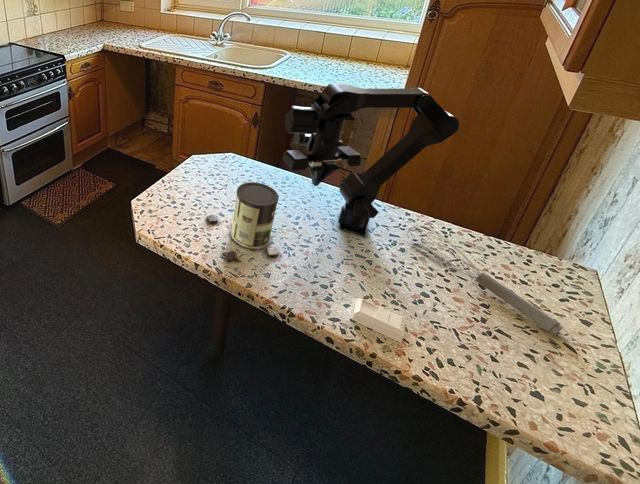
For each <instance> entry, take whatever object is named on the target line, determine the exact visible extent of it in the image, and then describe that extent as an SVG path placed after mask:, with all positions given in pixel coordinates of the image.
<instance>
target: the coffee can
mask: <svg viewBox="0 0 640 484" xmlns="http://www.w3.org/2000/svg"><path fill="white" fill-rule="evenodd" d="M279 198H280V195H279V194H278V192H277V191H276V190H275V189H274V188H273V187H271V186H269V185H268V184H265V183H261V182H255V181H251V182H250V181H249V182H244V183H241V184H240V185H238V186H237V188H236V196H235V203H234V212H233V216H232V217H233V218H232V225H231V229H230V235H231V238H232V239H233V241H234V242H235V243H237V244H238V245H239V246H241V247H244V248H245V249H251V250H260V249H264V248H266V247H267V246H268V245H269V243H270V242H271V241H270V240H271V235H272V234H271V233H272V230H273V224H274V220H275V216H276V215H275V214H276V211H277V207H278V206H277V205H278V203H279Z"/></svg>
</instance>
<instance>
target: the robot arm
mask: <svg viewBox="0 0 640 484" xmlns="http://www.w3.org/2000/svg"><path fill="white" fill-rule="evenodd" d="M323 105H326V106H327V108H325V106H323ZM309 106H310V107H308V106H306V107H305V106H297V105H292V106H291V107H290V110H288V112H287V114H286V115H285V119H284V128H285V131H286V133H287V134H294V136H293V142H294V144H296V145H299V146H300V147H305V150H306V151H307V152H310V153H306V154H304V153H303V152H302V151H301V150H300V149H291V150H286V151H284V152H283V154H282V155H283V156H282V160H283V162H284V163H285V164H286V165H287V166H288V167H289V169H291V170H292V171H305V170H307V169H309V173H310V178H311V183H312V186H314V187H319V185H320V184H321V183H322V182H323V181H324V180H325V179H327V177H329V176H330V175H332V174H333V173H334V172H335V171H339V170H340V166H339V165H337V163H338V162H339V161H345V160H347V161H346V164H347V165H348V166H349V167H359V166H360V165H361V162H362V161H363V159H362V158H363V157H362V156H361V154H360V153H358V152H357V151H356V150H355V149H353V148H352V147H351V146H343V143H344V141H343V140H341V137H342V133H343V129H344V126H345V122H346V121H353V122H354V121H355V120H356V117H355V116H354V115H353V114H352V113H355V112H357V111H360V110H361V109H412V110H413V111H414V113H416V114H417V115H416V116H415V117H414V118H413V120H412V121H411V125H410V126H409V129H408V132H407V133H406V134H405V135H404V136H403V137H402V138H401V139H399V140H398V141H397V142H396V143H395V144H394V145H393V146H392V147H391V148H390V149H388V150H387V152H386V153H384V154H383V155H382V156H381V157H379V159H378V160H377V161H375V162H374V163H373V164H372V165H371V166H369V168H367V169H366V170H365V171H363V172H361V173H357V174H356V173H355V172H354V171H352V172H350V173H349V174H348V175H347V176H346V177H345V178H343V179H341V180H340V182H341V183H340V184H339V186H338V187H339V193H340V195H341V196H342V199H344V201H345V203H344V205H342V206H341V209H340V211H339V215H338V219H337V220H338V223H339V229H340V230H344V231H347V232H352V233H354V234H359V235H362V236H366V235H367V228H368V225H369V222H370V219H375V218H376V217H377V215H378V214H379V211H378V209H377V208H376V207H375V205H374V204H373V203H374V201H375V200H376V199H377V197H378V194H379V191H380V189H381V187H382V186H383V184H385V183H386V182H387V181H388V180H389V179H391V178H392V177H394V175H395V174H397V173H398V172H399V171H400V170H401V169H402V168H403V167H404V166H406V165H407V164H408V163H409V162H410V161H411V160H413V159H414V158H415V157H416V156H417V155H419V153H421V152H422V151H423V150H424V149H425V148H427V147H430V146H433V145H437V144H441V143H442V142H444V141H446V140H448V139H449V138H450V137H452V136H454V135H455V134H456V133H457V132H458V131H459V129H460V121H459V119H458V118H457V117H456V116H455V115H453V114H452V113H450V112H448V111H447V110H445V109H444V108H443V107H442V106H441V105H440V104H439V103H438V102H437V101H436V100H435V98H434V97H433V95H432V94H430V93H429V92H427V91H425V90H424V89H423V88H421V87H412V88H363V87H358V86H356V85H355V86H354V85H350V84H347V83H341V82H331V83H328V84H327V85H326V86H325V87H324V88H323V89H322V91H321V93H319V94H318V95H317V96H316V97H315V98H313V100H312V101H310V103H309Z"/></svg>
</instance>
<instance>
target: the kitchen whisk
mask: <svg viewBox="0 0 640 484" xmlns="http://www.w3.org/2000/svg"><path fill="white" fill-rule="evenodd" d="M414 228H416V229H419V230H421V231H423V232H424V233H426V234H428V235H429V236H430V237H432V238H434V239H435V240H437V241H438V242H439V243H441V244H442V245H443V246H445V247H446V248H447V249H449V250H450V251H451V252H452V253H454V254H452V253H451V252H449V251H448V250H446V249H445V248H444V247H442V246H441V245H439V244H438V243H437V242H435V241H433V240H432V239H431V238H429V237H428V236H426V235H425V234H423V233H421V232H419V231H417V230H416V229H414ZM425 230H427V231H430V232H431V233H434V234H435V235H436V236H438V237H439V238H441V239H442V240H444V241H445V242H446V243H448V245H450V246H451V247H452V248H453V249H455V251H457V252H458V253H459V254H460V255H462V257H463V258H465V260H464V259H463V258H461V257H460V256H459V254H457V253H456V252H454V251H453V250H452V249H450V248H449V247H448V246H447V245H446V244H444V243H443V242H442V241H440V239H438V238H436V237H435V236H434V235H432V234H431V233H430V232H427V231H425ZM412 231H414V232H416V233H418V234H420V235H422V236H423V237H425V238H426V239H428V240H430V241H431V242H433V243H434V244H435V245H437V246H439V247H440V248H441V249H443V250H444V251H446V252H447V253H448V254H450V255H451V256H452V257H454V258H455V259H457V260H458V261H459V262H461V263H462V264H463V265H465V266H466V267H464V266H462V265H461V264H460V263H457V262H456V261H454V260H452V259H451V258H449V257H448V256H446V255H444V254H443V253H441V252H440V251H438V250H437V249H435V248H434V247H432V246H431V245H430V244H428V243H426V242H425V241H424V240H422V239H420V237H418V236H416V235H415V234H414V233H412ZM409 233H410V235H411V236H412V238H413V239H414V240H415V241H416V242H417V243H418V244H420V245H421V246H422V247H424V248H425V249H426V250H428V251H429V252H431V253H432V254H434V255H435V256H437V257H438V258H440V259H443V260H444V261H445V262H443V260H440V259H438V258H436V257H434V256H432V255H430V254H429V253H427V252H426V251H424V250H422V249H421V248H420V247H418V246H417V245H415V244H414V243H413V242H412V241H411V239H410V237H409V235H407V236H406V238H407V239H408V241H409V242H410V244H411V245H412V246H413V247H414V248H416V249H417V250H418V251H419V252H421V253H422V254H423V255H425V256H427V257H428V258H430V259H432V260H433V261H436V262H438V263H439V264H441V265H443V266H445V267H447V268H449V269H452V270H454V271H456V272H459V273H461V274H464V275H466V276H468V277H471V278H473V279H475V282H476V283H478V284H479V285H481V286H482V287H483V288H485V289H486V290H488V291H489V292H491V293H492V294H494V295H495V296H496V297H498V298H500V299H501V300H503V301H504V302H505V303H507V304H508V305H510V306H511V307H513V308H514V309H515V310H517V311H518V312H520V313H521V314H523V315H524V316H525V317H527V318H528V319H529V320H531V321H532V322H534V323H535V324H537V325H538V326H540V327H541V328H542V329H544V330H545V331H547V332H550V333H551V334H553V335H554V336H556V335H557V336H560V337H561V338H563V339H565V340H567V341H569V342H573V341H574V340H575V339H574V337H573V336H572V335H571V334H570V333H569V332H568V331H566V329H564V326H563V325H561V324H560V323H559V322H558V320H555V319H554V318H553V317H551V316H550V315H548V314H547V313H545V312H544V311H542V310H540V309H539V308H538V307H537V306H535V305H533V304H532V303H531V302H529V301H527V300H526V299H524V298H523V297H521V296H520V295H519V294H517V293H515V292H514V291H512V290H511V289H509V288H508V287H506V286H504V284H502V283H501V282H499V281H497V279H495V278H493V277H491V276H490V275H488V274H487V273H485V272H481V271H480V270H479V269H478V268H477V267H476V266H475V265H474V264H473V262H471V261H470V260H469V259H468V258H467V257H466V256H465V255H464V254H463V253H462V252H461V251H460V249H459V248H457V247H456V246H455V245H454V244H453V243H452V242H451V241H449V240H448V239H447V238H446V237H444V236H443V235H442V234H440V233H439V232H437V231H436V230H434V229H432V228H431V227H429V226H427V225H425V227H424V224H420V227H418V224H414V225H413V226H410V227H409V228H407V231H406V233H405V234H409ZM416 238H417V239H416ZM418 240H420V241H421V242H422V243H424V244H425V245H427V246H428V247H430V248H431V249H433V250H434V251H436V252H437V253H439V254H440V255H442V256H443V257H445V258H447V259H449V260H450V261H452V262H453V263H452V262H450V261H448V260H446V259H444V258H443V257H441V256H440V255H438V254H437V253H435V252H433V251H432V250H430V249H429V248H428V247H426V246H424V245H423V244H422V243H420V242H419V241H418ZM455 255H456V256H457V257H456V256H455ZM466 261H467V262H466ZM446 262H447V263H446ZM448 263H449V264H451V265H449V264H448ZM455 264H456V265H455ZM457 265H458V266H457ZM459 266H460V267H459ZM467 268H468V269H467ZM469 269H470V270H472V271H470V270H469ZM560 331H564V332H565V333H567V335H569V336H570V337H571V339H569V338H566V337H565V336H562V335H561V334H559V333H560Z"/></svg>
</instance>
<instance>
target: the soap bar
mask: <svg viewBox="0 0 640 484" xmlns="http://www.w3.org/2000/svg"><path fill="white" fill-rule="evenodd" d="M353 308H354V309H353V312H352V316H351V320H352V321H353V322H356V323H358V324H360V325H362V326H365V327H366V328H368V329H371V330H372V331H375V332H377V333H379V334H382V335H384V336H385V337H388V338H390V339H392V340H394V341H396V342H399V343H402V341H403V339H404V336H405V329H406V318H405V317H403V316H402V315H401V314H400V315H399V314H397V313H395V312H393V311H390V310H388V309H387V308H384V307H382V306H379V305H377V304H374V303H372V302H370V301H368V300H366V299H363V298H359V297H358V298H357V299H356V302H355V304H354V307H353Z"/></svg>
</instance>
